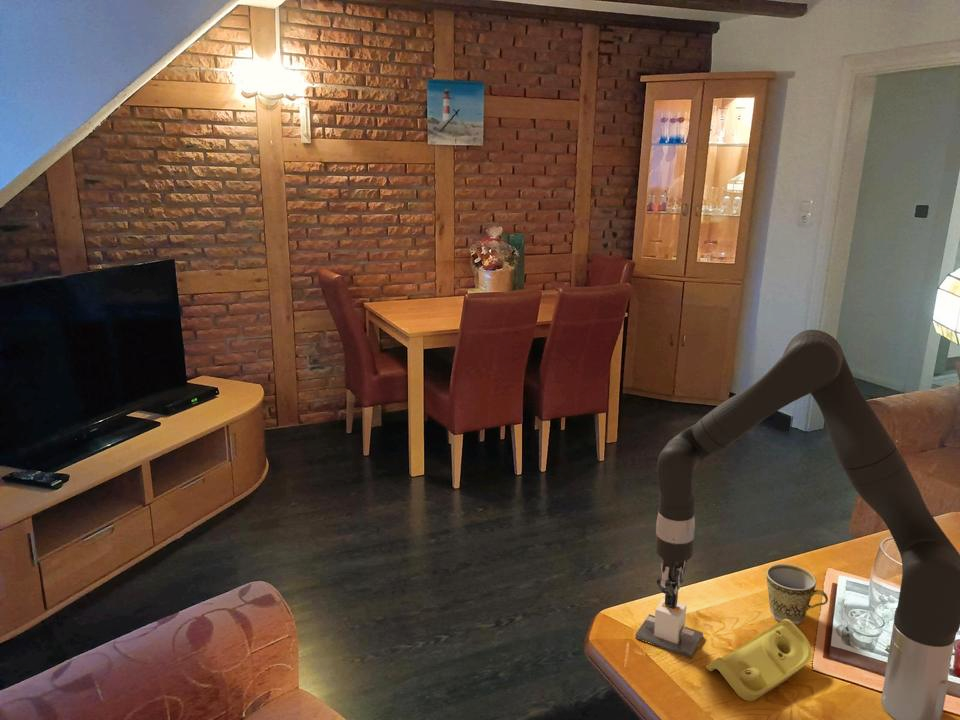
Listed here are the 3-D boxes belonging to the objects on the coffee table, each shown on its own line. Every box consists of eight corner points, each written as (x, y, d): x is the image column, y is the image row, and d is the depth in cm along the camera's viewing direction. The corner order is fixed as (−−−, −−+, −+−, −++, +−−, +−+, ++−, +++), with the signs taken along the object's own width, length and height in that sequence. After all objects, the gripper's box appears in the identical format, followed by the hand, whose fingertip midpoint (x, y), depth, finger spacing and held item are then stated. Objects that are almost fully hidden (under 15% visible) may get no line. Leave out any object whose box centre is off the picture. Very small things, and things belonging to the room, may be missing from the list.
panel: (703, 636, 148) (703, 624, 147) (691, 658, 142) (692, 646, 141) (649, 618, 155) (649, 606, 154) (635, 638, 148) (636, 626, 148)
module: (684, 631, 149) (686, 603, 147) (677, 643, 145) (678, 616, 143) (662, 623, 151) (663, 596, 149) (654, 635, 147) (655, 608, 146)
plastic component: (751, 699, 128) (714, 651, 134) (737, 716, 133) (701, 669, 139) (821, 654, 137) (783, 612, 143) (805, 672, 141) (769, 629, 148)
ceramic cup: (754, 615, 155) (758, 576, 152) (775, 596, 161) (779, 558, 158) (813, 643, 145) (818, 602, 143) (833, 622, 152) (838, 582, 149)
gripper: (682, 552, 134) (678, 629, 139) (703, 523, 145) (698, 595, 149) (645, 542, 138) (642, 616, 143) (668, 514, 149) (664, 584, 153)
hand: (670, 605), depth 146 cm, fingers closed
